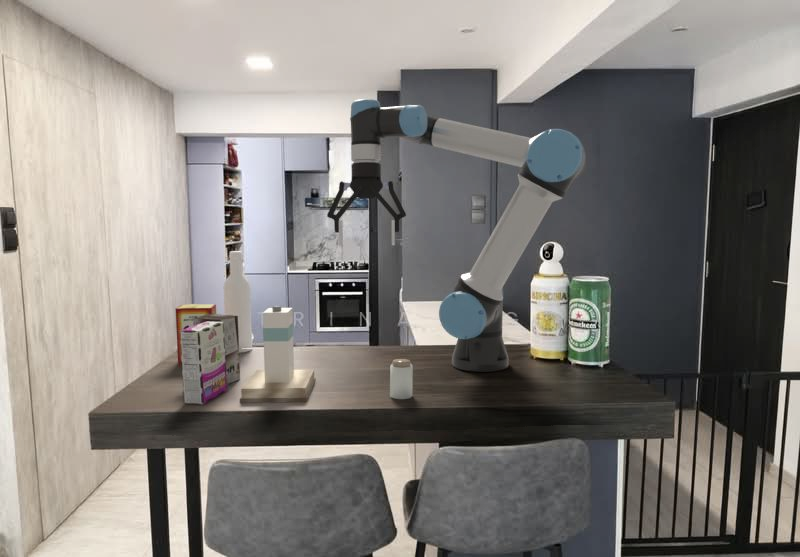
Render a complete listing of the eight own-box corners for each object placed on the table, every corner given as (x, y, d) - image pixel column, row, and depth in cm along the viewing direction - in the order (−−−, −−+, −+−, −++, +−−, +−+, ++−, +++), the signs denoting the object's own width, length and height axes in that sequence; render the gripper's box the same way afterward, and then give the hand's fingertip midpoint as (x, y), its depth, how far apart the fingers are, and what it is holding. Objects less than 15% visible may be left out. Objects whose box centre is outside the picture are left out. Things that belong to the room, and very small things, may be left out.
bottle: (248, 353, 180) (245, 252, 177) (222, 353, 180) (218, 252, 177) (255, 347, 188) (252, 250, 185) (230, 347, 188) (226, 250, 185)
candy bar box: (208, 389, 142) (205, 320, 141) (227, 390, 141) (225, 321, 140) (181, 404, 132) (178, 329, 130) (202, 405, 131) (199, 330, 129)
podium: (315, 381, 149) (315, 369, 149) (306, 401, 133) (306, 388, 132) (256, 381, 149) (255, 369, 149) (239, 402, 132) (239, 389, 132)
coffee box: (241, 379, 151) (239, 315, 150) (223, 385, 146) (221, 319, 144) (213, 375, 155) (210, 313, 154) (194, 381, 149) (192, 317, 148)
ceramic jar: (410, 392, 139) (411, 358, 138) (413, 398, 134) (414, 363, 134) (389, 393, 139) (389, 358, 138) (391, 399, 134) (391, 363, 133)
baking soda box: (217, 358, 174) (215, 303, 172) (213, 363, 167) (211, 306, 166) (183, 359, 173) (181, 303, 171) (178, 365, 166) (175, 307, 165)
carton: (294, 374, 144) (292, 303, 142) (289, 382, 137) (287, 308, 135) (270, 374, 144) (268, 303, 142) (264, 382, 137) (262, 308, 135)
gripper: (414, 163, 160) (414, 244, 162) (318, 164, 159) (320, 245, 161) (415, 160, 152) (415, 245, 154) (315, 161, 152) (317, 246, 154)
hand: (367, 245), depth 158 cm, fingers open, 13 cm apart
